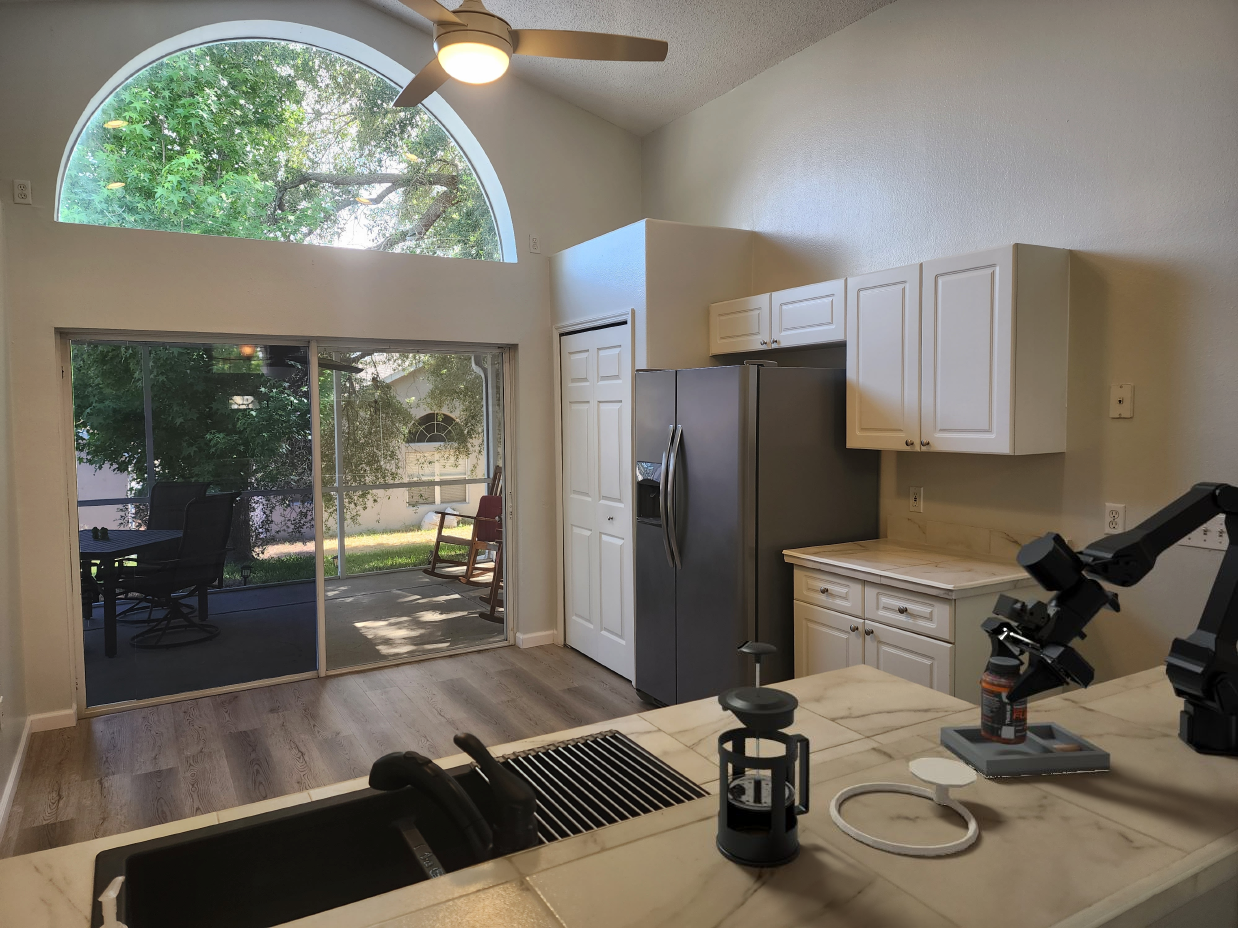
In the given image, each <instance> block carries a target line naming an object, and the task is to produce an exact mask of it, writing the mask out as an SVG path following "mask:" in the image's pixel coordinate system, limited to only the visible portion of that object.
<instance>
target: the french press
mask: <svg viewBox="0 0 1238 928" xmlns="http://www.w3.org/2000/svg"><path fill="white" fill-rule="evenodd" d="M739 651H741V652H742V653H744V654H749V655H753V663H754V664H755V686H739V687H733V688H729V689H726V690H723V691H722V692H720V693H719V694H718V695H717V703H718V704H719V706H721V711H723V712H728V711H730V712H731V713H732V714H733V715H734V716H735V717H736V719H738V721H739V722H740V723H741V724H743V726H742V727H736V728H731V729H728V730H726V731H724V732H722V733H721V734H720V735H718V738H717V754H718V756H719V757H718V758H719V765H718V766H719V774H718V775H719V781H718V782H719V784H718V785H719V791H718V792H719V797H718V798H719V810H718V811H717V834H716V836H715V844H716V847H717V850H718V851H719V853H721V854H722V855H723V856H724V857H725V858H727V859H729V860H730V861H732V862H735V863H737V864H739V865H743V866H746V867H752V868H761V869H762V868H765V869H766V868H777V867H781V866H785V865H787V864H790V863H791V862H793V861H794V860H796V859H797V857H798V855H799V854H800V850H801V845H800V841H799V820H798V816H799V817H800V816H803V815H806V814H809V813H810V776H811V775H810V774H811V773H810V770H811V769H810V764H811V763H810V761H811V760H810V759H811V758H810V753H811V752H810V751H811V749H810V748H811V747H810V744H811V743H810V741H811V740H810V739H809V738H808V737H806V736H805V735H803V734H801V733H794V734H789V733H786V732H784V731H781V730H785V729H787V728H789V727H790V726H792V725H793V724H794V721H795V710H796V709H798V707H799V699H797V697H796V696H794V695H793V694H791V693H789V692H787V691H785V690H782V689H777V688H773V687H765V686H760V664H761V665H762V662H763V655H765V656H766V655H771V654H775V653H776V652H777V651H778V650H777V647H775V646H774V645H771V644H769V643H764V642H747V643H746V644H745V645H744V646H743V647H741V648H739ZM746 739H755V756H750V755H749V756H748V755H746ZM760 739H761V740H762V739H763V740H768V741H769V740H770V741H774V742H777V743H781V745H784V746H785V754H782V755H779V756H778V755H776V756H770V757H769V756H768V757H767V756H766V757H765V756H764V757H762V756H760ZM729 742H731V750H730V749H727V748H726V747H725V746H724V745H725V744H727V743H729ZM797 760H798V804H796V763H797ZM729 764H730V765H731V777H729ZM746 769H748V770H755V773H746ZM769 770H770V775H768V774H760V771H769ZM746 828H748V829H749V828H753V829H754V828H756V829H757V828H759V829H763V830H765V829H766V830H769V831H770V835H752V834H747V833H743V832H740V831H738V830H742V829H746Z"/></svg>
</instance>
